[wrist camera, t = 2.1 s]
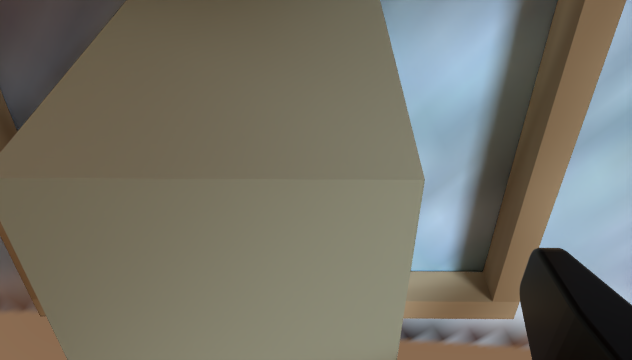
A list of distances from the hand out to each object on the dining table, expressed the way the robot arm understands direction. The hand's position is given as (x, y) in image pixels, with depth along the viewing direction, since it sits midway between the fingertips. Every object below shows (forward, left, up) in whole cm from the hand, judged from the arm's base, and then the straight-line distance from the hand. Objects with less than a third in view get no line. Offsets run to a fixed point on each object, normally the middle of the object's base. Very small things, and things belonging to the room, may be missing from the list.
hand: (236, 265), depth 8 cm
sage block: (0, 0, -6) cm, 6 cm away
